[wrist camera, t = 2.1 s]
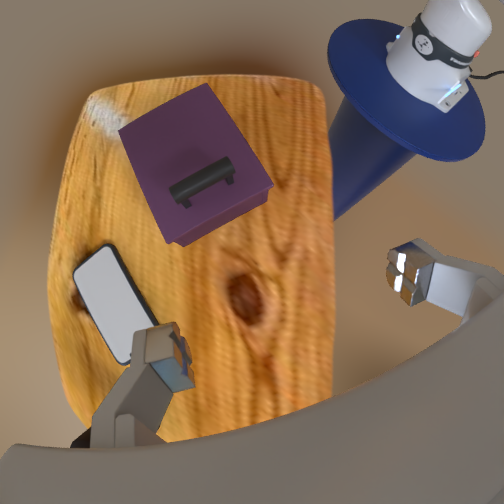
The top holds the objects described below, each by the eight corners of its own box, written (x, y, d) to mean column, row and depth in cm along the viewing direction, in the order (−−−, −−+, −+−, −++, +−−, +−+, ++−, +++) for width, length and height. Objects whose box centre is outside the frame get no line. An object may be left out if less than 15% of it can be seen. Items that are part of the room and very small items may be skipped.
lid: (273, 186, 29) (277, 166, 24) (168, 244, 29) (149, 236, 23) (207, 86, 31) (200, 57, 25) (120, 133, 30) (100, 111, 25)
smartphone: (74, 273, 37) (124, 366, 35) (68, 273, 35) (120, 369, 33) (114, 240, 37) (170, 338, 35) (109, 239, 35) (166, 340, 34)
